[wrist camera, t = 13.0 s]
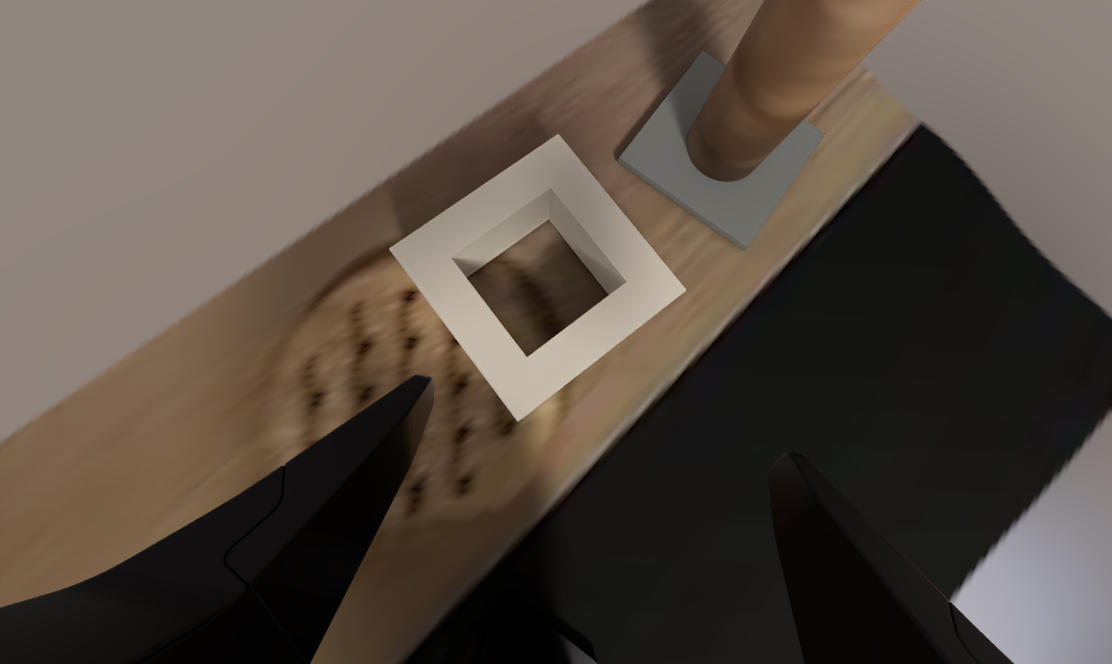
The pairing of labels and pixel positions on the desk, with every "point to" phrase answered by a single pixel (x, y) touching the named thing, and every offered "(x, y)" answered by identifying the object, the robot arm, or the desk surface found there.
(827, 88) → the peg
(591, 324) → the frame
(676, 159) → the pad
